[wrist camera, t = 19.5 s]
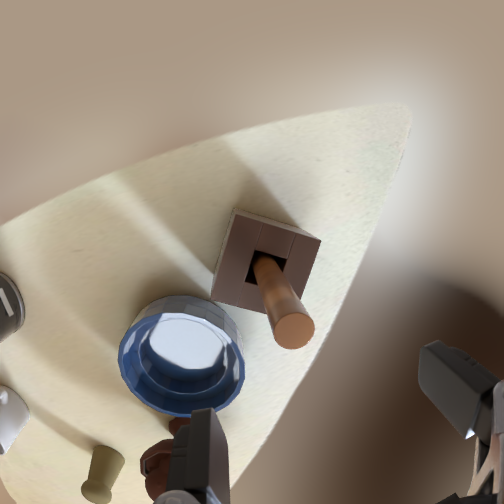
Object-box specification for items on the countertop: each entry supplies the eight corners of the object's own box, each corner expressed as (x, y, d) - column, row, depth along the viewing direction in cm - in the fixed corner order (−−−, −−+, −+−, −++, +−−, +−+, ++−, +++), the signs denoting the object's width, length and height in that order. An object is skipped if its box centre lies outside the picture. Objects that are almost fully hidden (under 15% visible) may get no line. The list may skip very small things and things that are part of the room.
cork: (131, 460, 41) (118, 506, 30) (114, 469, 41) (101, 511, 31) (103, 441, 40) (85, 486, 29) (88, 451, 40) (70, 493, 30)
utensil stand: (213, 275, 35) (210, 299, 27) (233, 207, 34) (235, 213, 26) (279, 292, 36) (292, 320, 28) (301, 228, 35) (321, 240, 27)
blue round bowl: (126, 372, 37) (114, 397, 31) (142, 278, 35) (127, 295, 29) (225, 398, 39) (225, 427, 33) (256, 310, 36) (262, 333, 31)
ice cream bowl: (176, 456, 41) (167, 527, 26) (137, 412, 39) (113, 487, 24) (233, 441, 41) (238, 517, 26) (198, 394, 38) (190, 477, 24)
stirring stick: (245, 258, 35) (267, 345, 16) (251, 240, 35) (281, 308, 15) (264, 263, 35) (306, 353, 16) (270, 245, 35) (321, 317, 15)
